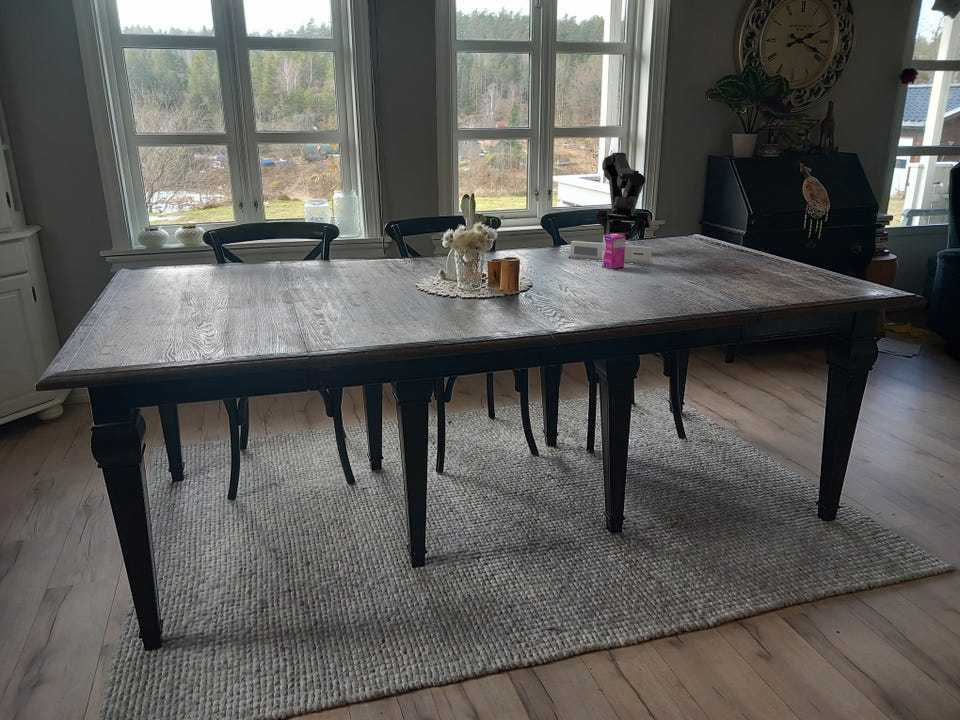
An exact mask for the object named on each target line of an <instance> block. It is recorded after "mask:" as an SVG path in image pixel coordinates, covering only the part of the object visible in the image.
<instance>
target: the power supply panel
mask: <svg viewBox="0 0 960 720" xmlns="http://www.w3.org/2000/svg"><path fill="white" fill-rule="evenodd" d="M652 249H653V247H651V246H640V245H628V244H625V257H624V263H633V264H643V265H642V266H644V265H648V264H650V263H651V262H652V263H653V260H652ZM602 250H603V242H594V241H591V242H590V241H581V240H572V241H570V252H569V253H570V255H568V257H570V258H579V259H578V260H580V259H590V260H589V261H591V260H601V261H602ZM601 261H600V262H601ZM652 263H651V264H652ZM633 264H632V265H633ZM651 264H650V265H651ZM648 266H649V265H648Z"/></svg>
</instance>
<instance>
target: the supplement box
mask: <svg viewBox="0 0 960 720" xmlns="http://www.w3.org/2000/svg"><path fill="white" fill-rule="evenodd" d="M602 243H603V250H602V262H601V268H604V267H606V268H605V269H607V268H609V269H608V270H610V269H615V270H619V269H618V268H624V269H625V264H624V257H625V245H626V236H623V235H619V234H610V235H604V234H603V236H602Z"/></svg>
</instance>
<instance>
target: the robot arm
mask: <svg viewBox="0 0 960 720" xmlns="http://www.w3.org/2000/svg"><path fill="white" fill-rule="evenodd" d="M601 168H602V170H603V176H604V177H605V178H606V179H607V181H608V184H609V193H610V194H609V195H610V205H611V213H610V210H608V209H599V210H597V211H596V215H595V216H596V219H597V223H598V225H600V226H601V227H603V235H610V234H619V235H623V236H626V237H627V238H628V237H629V240H632V239H634V238H635V237H636V236H637V235H638V234H639V233H640V232H642V231H643V230H646V229H649V228H651V226H652V225H651V224H652V220H651V219H652V218H651V215H650V213H649V212H647V211H638V212H637V215H634V213H636V207H637V204H638V200H639V197H640V194H641V193H642V190H643V188H644V185H645V182H646V177H645V175H643V174H642V173H640V171H639V170H635V169H632V168H631V167H630V164H629V161H628V160H627V154H626V153H625V152H613V153H611V154H610V155H608V156H606V157H604V159H603V160H602V165H601ZM632 223H634V224H632Z"/></svg>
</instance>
